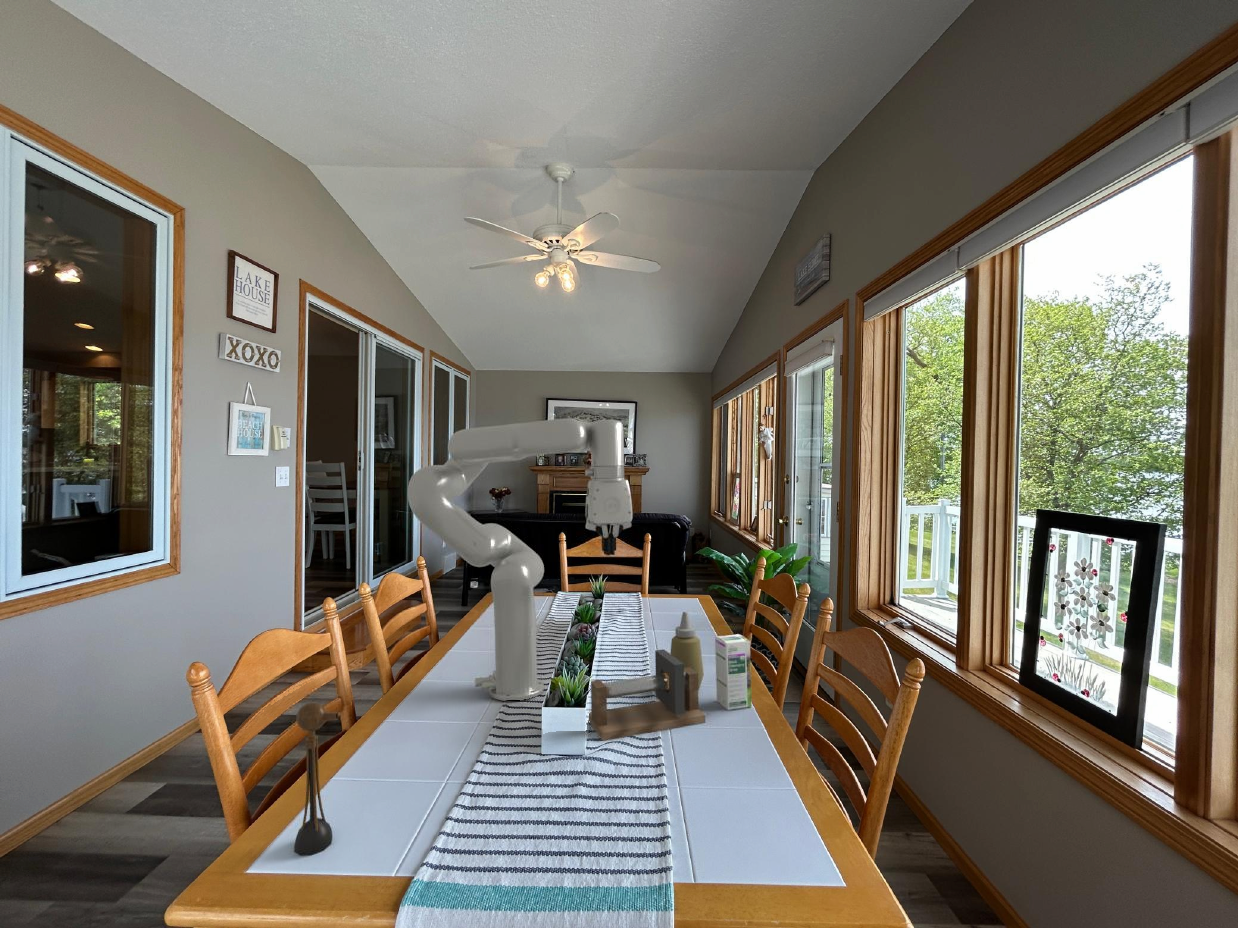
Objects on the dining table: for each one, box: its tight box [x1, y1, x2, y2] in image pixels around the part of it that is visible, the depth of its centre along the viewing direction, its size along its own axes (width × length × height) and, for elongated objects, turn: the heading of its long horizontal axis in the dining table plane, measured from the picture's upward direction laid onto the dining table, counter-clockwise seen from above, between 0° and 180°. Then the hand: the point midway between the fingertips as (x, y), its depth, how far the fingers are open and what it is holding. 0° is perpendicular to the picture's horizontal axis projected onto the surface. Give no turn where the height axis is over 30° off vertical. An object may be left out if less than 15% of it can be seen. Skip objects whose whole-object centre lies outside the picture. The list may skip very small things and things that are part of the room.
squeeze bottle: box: [669, 611, 705, 692], centre depth 139 cm, size 8×8×18 cm
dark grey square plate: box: [654, 649, 685, 715], centre depth 124 cm, size 2×10×10 cm, turn 20°
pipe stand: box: [588, 667, 706, 742], centre depth 122 cm, size 22×10×9 cm, turn 110°
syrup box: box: [714, 633, 752, 711], centre depth 130 cm, size 6×6×14 cm
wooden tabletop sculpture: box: [293, 701, 339, 857], centre depth 84 cm, size 6×5×20 cm
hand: (609, 554), depth 137 cm, fingers closed
